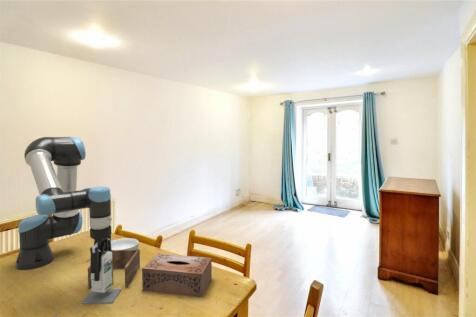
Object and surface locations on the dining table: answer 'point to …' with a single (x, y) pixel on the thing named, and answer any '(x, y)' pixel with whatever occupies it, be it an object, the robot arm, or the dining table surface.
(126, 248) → the cereal bowl
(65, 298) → the dining table surface
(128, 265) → the open-sided crate
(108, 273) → the syrup box
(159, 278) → the tissue box cover
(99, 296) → the grey mat
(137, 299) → the dining table surface
